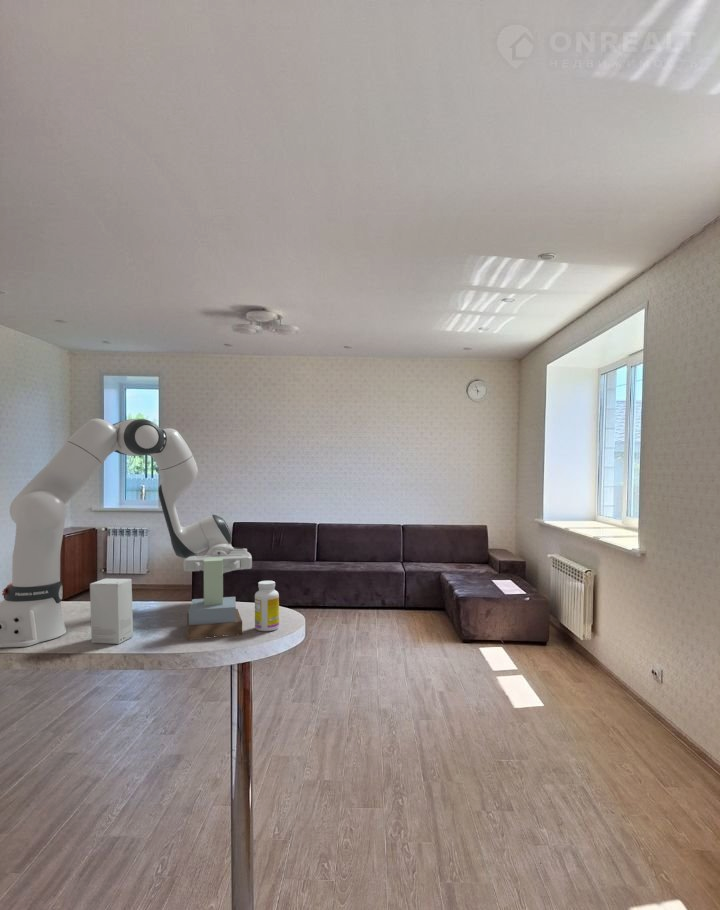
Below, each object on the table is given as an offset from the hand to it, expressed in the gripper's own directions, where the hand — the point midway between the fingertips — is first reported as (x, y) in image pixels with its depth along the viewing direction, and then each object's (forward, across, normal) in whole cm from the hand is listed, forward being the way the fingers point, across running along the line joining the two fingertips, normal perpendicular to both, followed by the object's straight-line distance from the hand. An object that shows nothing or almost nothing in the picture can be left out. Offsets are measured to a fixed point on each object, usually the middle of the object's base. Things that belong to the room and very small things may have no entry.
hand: (216, 567), depth 157 cm
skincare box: (+12, -26, +16) cm, 33 cm away
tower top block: (+9, 0, +12) cm, 15 cm away
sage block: (+8, 0, +8) cm, 12 cm away
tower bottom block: (+8, 0, +16) cm, 18 cm away
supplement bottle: (+11, +14, +16) cm, 24 cm away
